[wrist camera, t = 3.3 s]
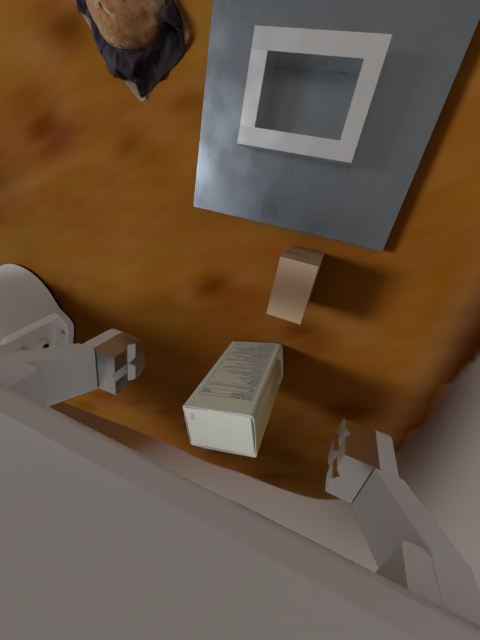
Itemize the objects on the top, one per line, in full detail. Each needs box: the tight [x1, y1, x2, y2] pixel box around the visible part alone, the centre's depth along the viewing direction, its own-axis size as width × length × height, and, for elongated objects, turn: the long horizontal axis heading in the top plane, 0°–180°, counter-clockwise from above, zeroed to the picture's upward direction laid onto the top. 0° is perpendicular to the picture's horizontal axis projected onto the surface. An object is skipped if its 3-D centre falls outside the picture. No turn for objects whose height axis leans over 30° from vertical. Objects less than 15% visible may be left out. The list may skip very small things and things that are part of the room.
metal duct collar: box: [194, 0, 480, 251], centre depth 20 cm, size 18×18×4 cm
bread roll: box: [75, 0, 190, 102], centre depth 23 cm, size 11×8×4 cm
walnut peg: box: [266, 246, 325, 324], centre depth 25 cm, size 5×3×6 cm, turn 169°
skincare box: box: [183, 341, 283, 457], centre depth 27 cm, size 6×4×12 cm
